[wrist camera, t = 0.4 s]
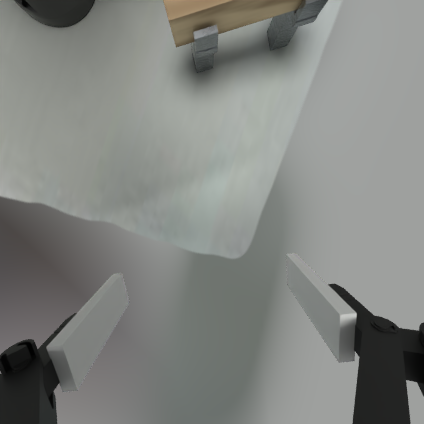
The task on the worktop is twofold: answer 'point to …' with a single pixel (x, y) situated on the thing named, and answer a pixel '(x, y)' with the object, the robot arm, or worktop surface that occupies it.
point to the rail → (220, 14)
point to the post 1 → (204, 47)
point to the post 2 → (292, 22)
